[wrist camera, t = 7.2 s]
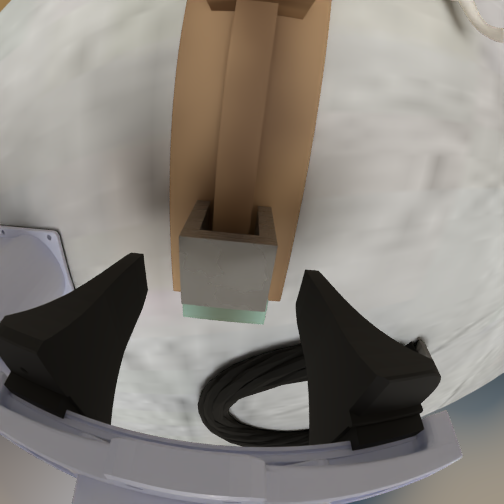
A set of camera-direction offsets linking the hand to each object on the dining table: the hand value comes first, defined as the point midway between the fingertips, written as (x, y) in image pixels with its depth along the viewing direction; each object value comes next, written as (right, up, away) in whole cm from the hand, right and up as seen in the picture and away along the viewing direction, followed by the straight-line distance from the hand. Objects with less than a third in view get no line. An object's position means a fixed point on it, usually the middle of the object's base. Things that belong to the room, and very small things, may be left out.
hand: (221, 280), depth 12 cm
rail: (+1, +8, +3) cm, 8 cm away
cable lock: (+9, -17, +19) cm, 27 cm away
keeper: (0, +3, +6) cm, 6 cm away
